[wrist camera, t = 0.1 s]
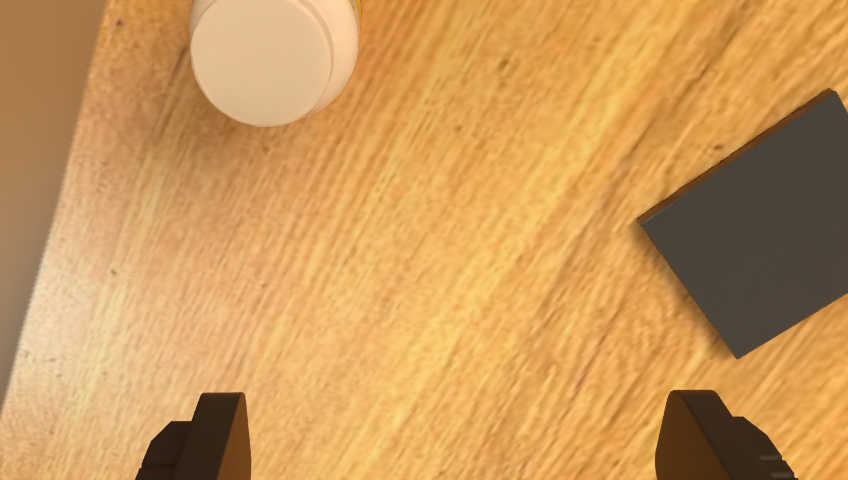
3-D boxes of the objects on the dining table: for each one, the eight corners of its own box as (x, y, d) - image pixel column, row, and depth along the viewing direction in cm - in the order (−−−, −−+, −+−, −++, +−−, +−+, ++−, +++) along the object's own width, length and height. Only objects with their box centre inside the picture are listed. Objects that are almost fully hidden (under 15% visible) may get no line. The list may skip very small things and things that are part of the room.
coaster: (635, 219, 34) (639, 224, 34) (829, 87, 32) (836, 90, 31) (732, 353, 38) (737, 360, 37) (911, 244, 36) (920, 250, 35)
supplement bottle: (225, 64, 30) (160, 136, 21) (231, -76, 28) (161, -60, 19) (354, 84, 31) (344, 161, 22) (371, -52, 28) (366, -27, 20)
